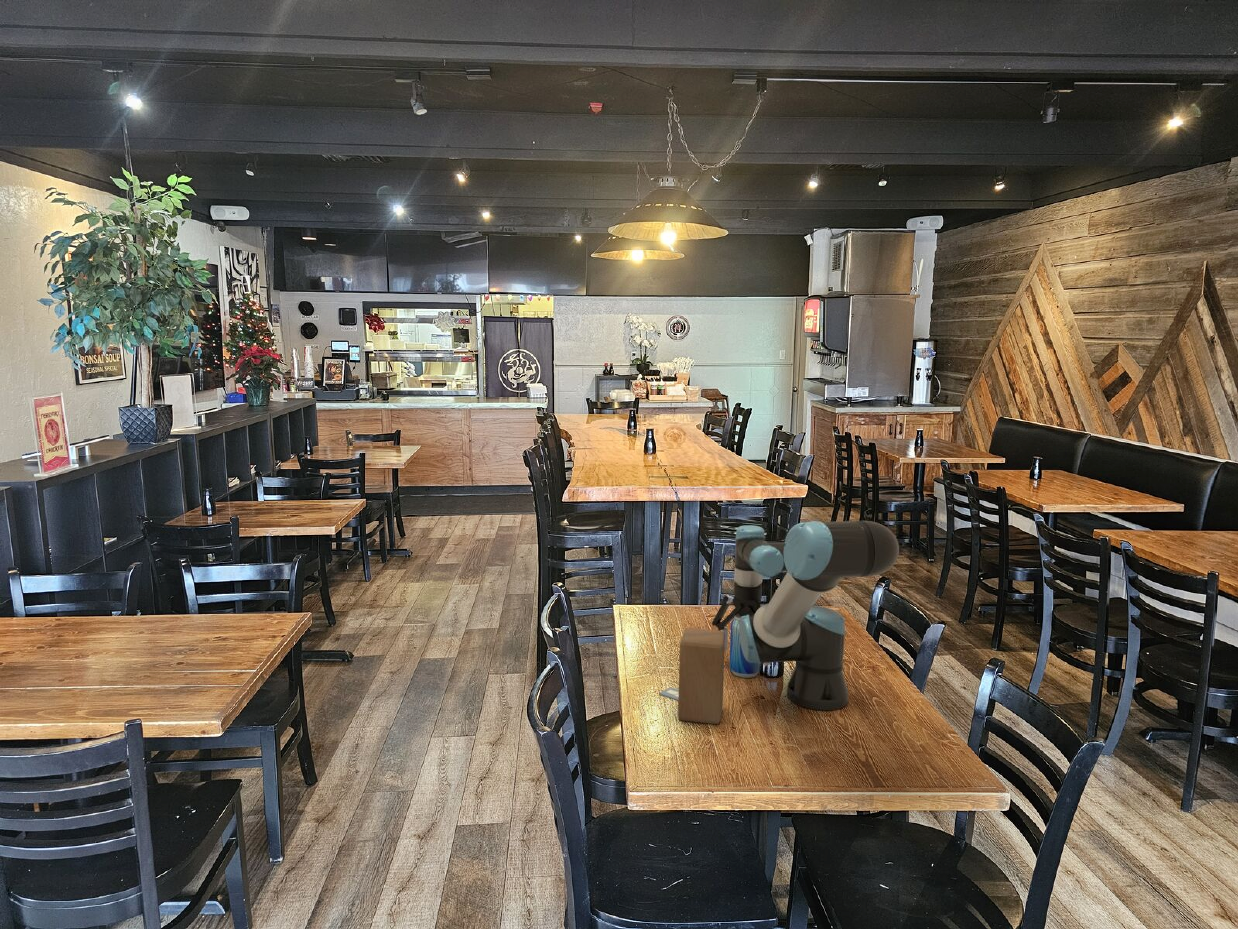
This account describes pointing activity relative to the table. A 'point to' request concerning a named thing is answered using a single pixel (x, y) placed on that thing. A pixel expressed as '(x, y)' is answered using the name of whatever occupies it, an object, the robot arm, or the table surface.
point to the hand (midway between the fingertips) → (745, 658)
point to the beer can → (740, 654)
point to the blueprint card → (670, 693)
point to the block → (701, 675)
